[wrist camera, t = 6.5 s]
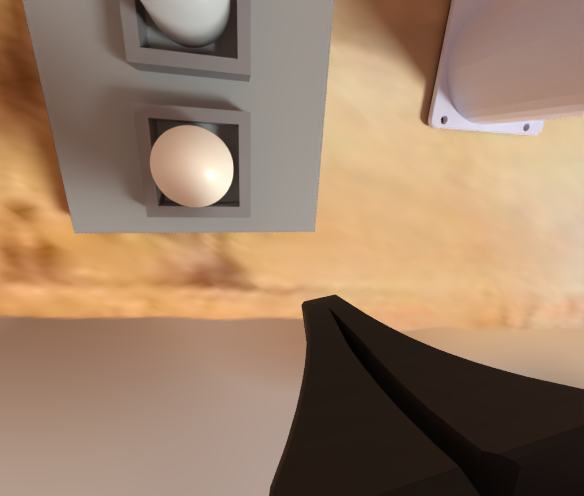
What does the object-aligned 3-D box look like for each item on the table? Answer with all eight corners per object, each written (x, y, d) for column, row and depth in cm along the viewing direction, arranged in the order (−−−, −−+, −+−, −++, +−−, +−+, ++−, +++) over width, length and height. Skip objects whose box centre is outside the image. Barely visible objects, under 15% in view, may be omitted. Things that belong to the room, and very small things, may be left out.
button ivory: (232, 131, 15) (232, 128, 12) (233, 197, 16) (234, 207, 13) (162, 127, 14) (145, 122, 11) (169, 196, 15) (154, 206, 13)
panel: (340, -239, 13) (377, -372, 9) (307, 224, 20) (321, 238, 17) (-28, -372, 10) (-157, -627, 7) (91, 224, 17) (58, 241, 14)
